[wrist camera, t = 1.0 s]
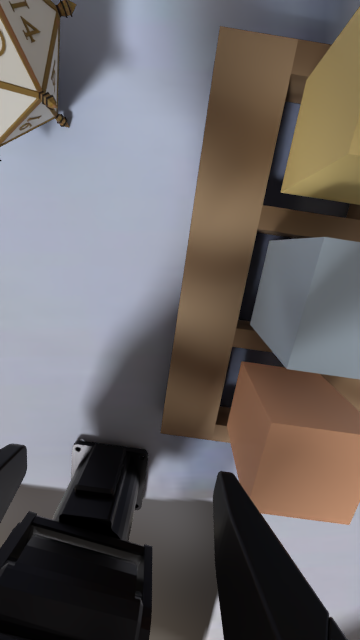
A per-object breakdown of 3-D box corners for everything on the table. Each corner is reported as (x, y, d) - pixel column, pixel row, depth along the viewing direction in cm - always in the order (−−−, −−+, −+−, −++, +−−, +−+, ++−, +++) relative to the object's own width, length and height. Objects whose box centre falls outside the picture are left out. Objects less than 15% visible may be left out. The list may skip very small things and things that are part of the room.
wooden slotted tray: (327, 435, 22) (343, 458, 19) (163, 413, 21) (160, 433, 19) (449, 98, 15) (496, 72, 13) (214, 60, 15) (220, 26, 13)
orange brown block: (297, 435, 18) (349, 525, 12) (226, 426, 18) (246, 511, 12) (317, 372, 17) (387, 438, 11) (241, 361, 17) (271, 422, 11)
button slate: (329, 335, 16) (410, 386, 10) (250, 324, 16) (286, 369, 10) (356, 253, 15) (466, 258, 9) (269, 240, 15) (324, 236, 9)
